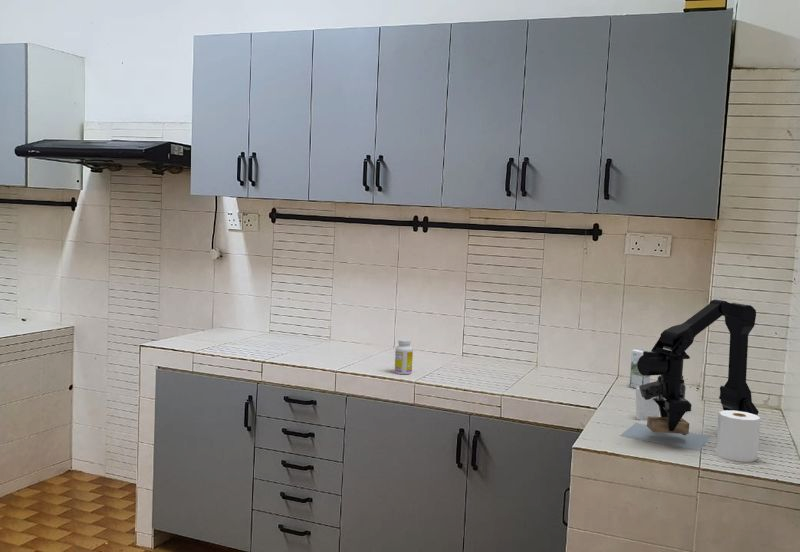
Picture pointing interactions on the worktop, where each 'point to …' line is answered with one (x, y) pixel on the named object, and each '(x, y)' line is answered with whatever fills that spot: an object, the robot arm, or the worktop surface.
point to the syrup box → (635, 376)
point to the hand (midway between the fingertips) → (667, 427)
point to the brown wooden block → (666, 425)
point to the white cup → (645, 407)
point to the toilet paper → (737, 435)
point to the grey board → (667, 437)
